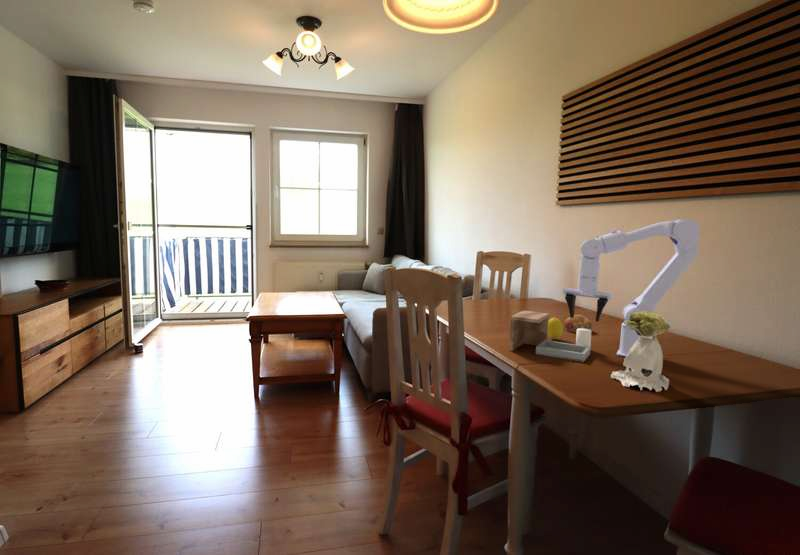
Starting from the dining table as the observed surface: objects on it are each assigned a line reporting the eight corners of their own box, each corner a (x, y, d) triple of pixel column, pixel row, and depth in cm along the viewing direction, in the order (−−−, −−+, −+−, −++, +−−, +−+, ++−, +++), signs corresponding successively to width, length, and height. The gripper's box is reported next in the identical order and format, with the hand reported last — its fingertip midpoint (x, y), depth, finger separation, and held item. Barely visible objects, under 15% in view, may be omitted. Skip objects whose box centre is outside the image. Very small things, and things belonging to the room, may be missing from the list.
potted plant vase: (647, 374, 121) (653, 307, 119) (680, 391, 108) (687, 316, 106) (605, 374, 120) (610, 307, 118) (633, 391, 107) (639, 316, 105)
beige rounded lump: (591, 349, 145) (592, 329, 145) (588, 352, 142) (590, 332, 141) (576, 347, 148) (578, 327, 147) (574, 350, 144) (575, 330, 143)
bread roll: (591, 340, 172) (594, 320, 175) (588, 333, 164) (591, 312, 166) (565, 336, 178) (568, 317, 180) (560, 329, 169) (563, 309, 171)
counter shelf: (546, 346, 148) (549, 313, 146) (536, 355, 137) (538, 319, 136) (521, 342, 152) (523, 310, 151) (509, 350, 142) (511, 316, 140)
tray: (589, 354, 139) (590, 346, 139) (583, 362, 131) (584, 354, 130) (544, 347, 147) (544, 339, 146) (535, 354, 138) (536, 346, 138)
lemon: (564, 341, 154) (565, 318, 154) (548, 341, 155) (549, 318, 154) (559, 337, 160) (560, 315, 159) (543, 337, 160) (544, 315, 159)
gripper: (561, 275, 143) (558, 317, 144) (611, 280, 135) (607, 324, 136) (566, 274, 148) (563, 314, 150) (614, 278, 141) (610, 321, 142)
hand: (584, 319), depth 144 cm, fingers open, 7 cm apart
